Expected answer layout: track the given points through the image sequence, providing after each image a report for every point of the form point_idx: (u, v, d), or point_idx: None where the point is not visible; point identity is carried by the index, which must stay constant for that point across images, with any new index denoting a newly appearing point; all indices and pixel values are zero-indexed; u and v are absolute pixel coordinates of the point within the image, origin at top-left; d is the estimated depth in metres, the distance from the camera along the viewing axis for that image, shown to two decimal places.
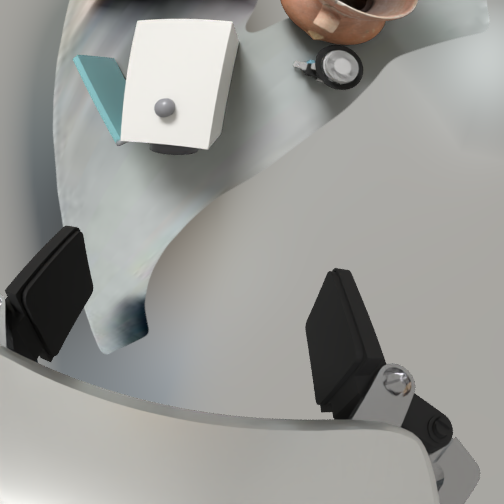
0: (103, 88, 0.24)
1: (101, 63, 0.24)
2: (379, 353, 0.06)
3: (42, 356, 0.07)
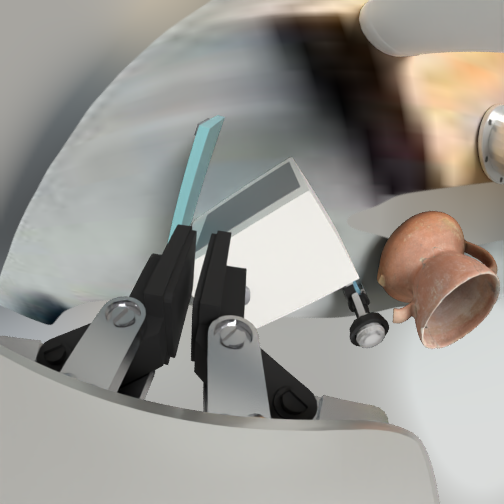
0: (194, 188, 0.22)
1: (214, 135, 0.22)
2: (216, 301, 0.07)
3: None
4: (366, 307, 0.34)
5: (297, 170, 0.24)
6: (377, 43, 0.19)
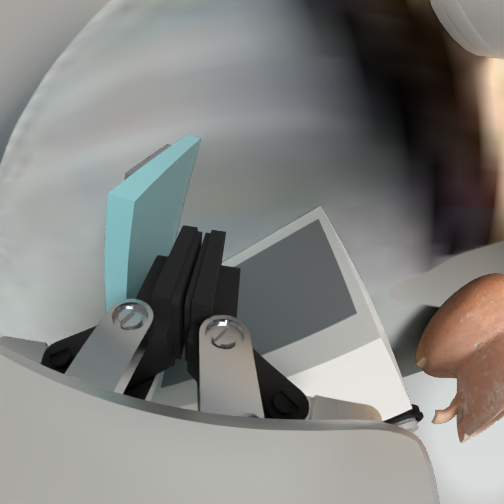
0: None
1: (173, 185, 0.11)
2: (208, 301, 0.07)
3: None
4: None
5: (340, 251, 0.13)
6: (459, 30, 0.08)
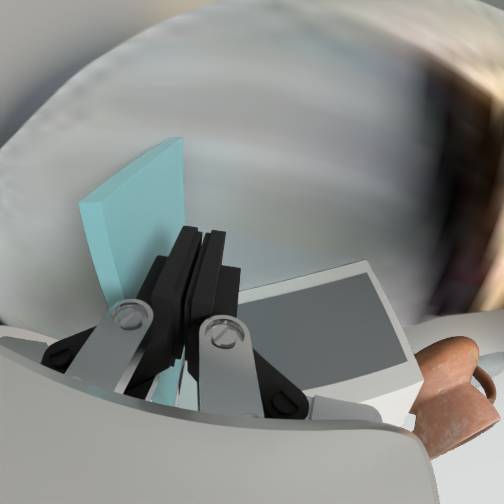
0: None
1: (158, 185, 0.11)
2: (208, 300, 0.07)
3: None
4: None
5: (390, 309, 0.15)
6: None
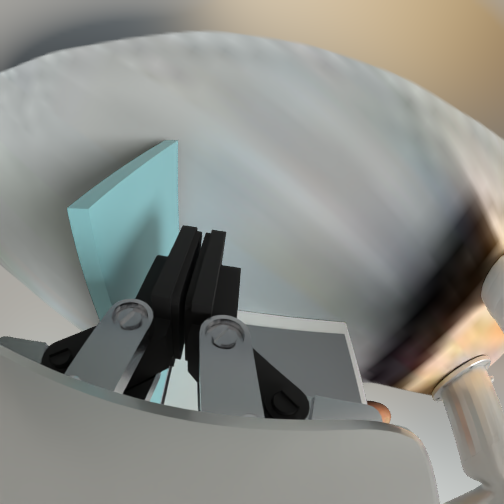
0: None
1: (150, 190, 0.11)
2: (208, 300, 0.07)
3: None
4: None
5: (357, 371, 0.19)
6: (490, 291, 0.20)
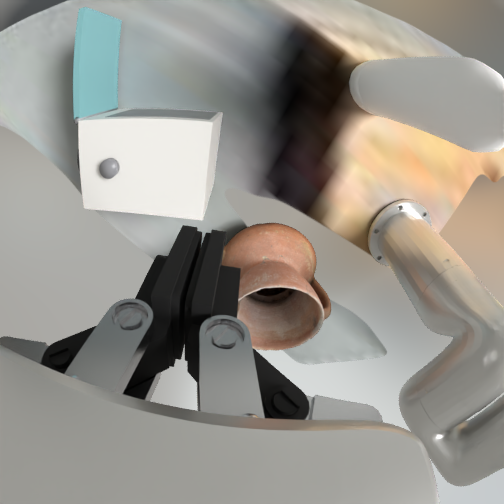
0: (90, 54, 0.19)
1: (104, 23, 0.18)
2: (208, 301, 0.07)
3: None
4: None
5: (217, 116, 0.27)
6: (352, 87, 0.28)
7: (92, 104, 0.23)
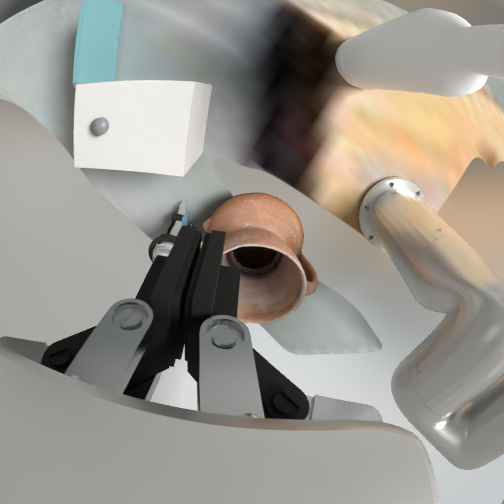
0: (92, 29, 0.19)
1: (107, 4, 0.19)
2: (209, 300, 0.07)
3: None
4: None
5: None
6: (338, 61, 0.27)
7: (90, 73, 0.23)
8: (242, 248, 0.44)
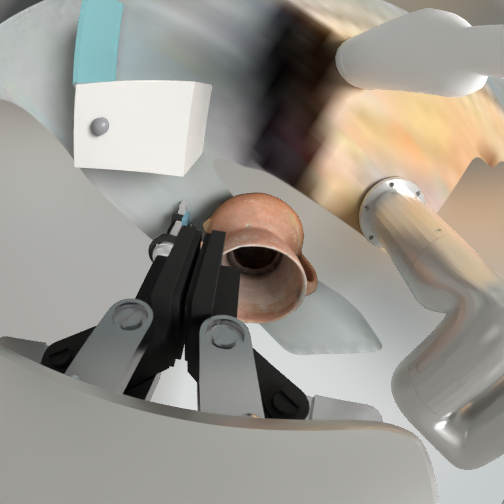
0: (92, 29, 0.19)
1: (107, 4, 0.19)
2: (209, 301, 0.07)
3: None
4: None
5: (204, 83, 0.26)
6: (338, 61, 0.27)
7: (90, 73, 0.23)
8: (242, 248, 0.44)
